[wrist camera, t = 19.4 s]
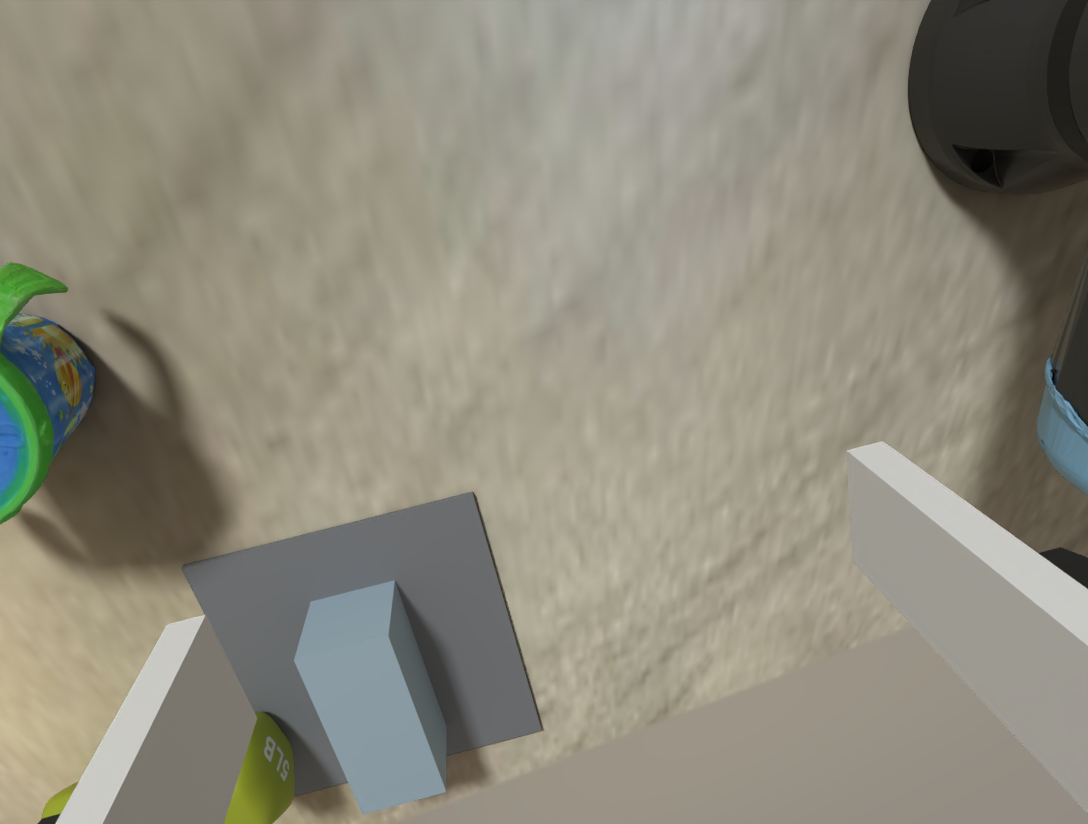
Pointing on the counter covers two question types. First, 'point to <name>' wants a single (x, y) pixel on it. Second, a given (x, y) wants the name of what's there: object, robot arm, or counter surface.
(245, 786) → the dumbbell
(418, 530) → the mat
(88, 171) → the counter surface
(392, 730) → the block
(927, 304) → the counter surface
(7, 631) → the counter surface
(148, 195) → the counter surface
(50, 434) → the snack cup
